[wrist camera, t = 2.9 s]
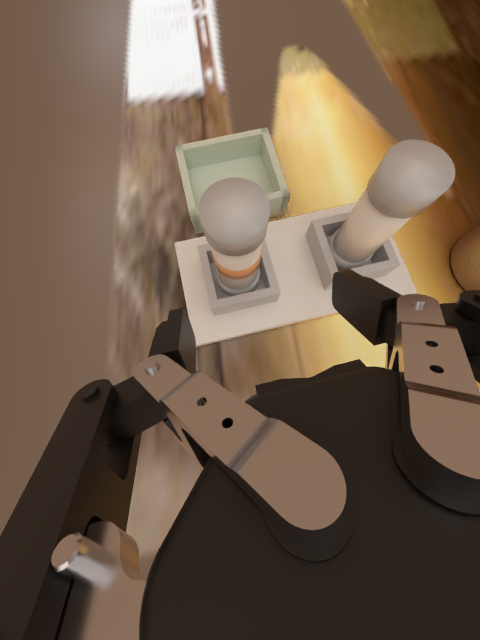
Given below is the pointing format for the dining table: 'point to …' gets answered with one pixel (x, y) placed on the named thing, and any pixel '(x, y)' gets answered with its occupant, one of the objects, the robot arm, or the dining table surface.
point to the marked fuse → (235, 231)
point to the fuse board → (279, 278)
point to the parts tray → (232, 168)
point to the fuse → (392, 199)
